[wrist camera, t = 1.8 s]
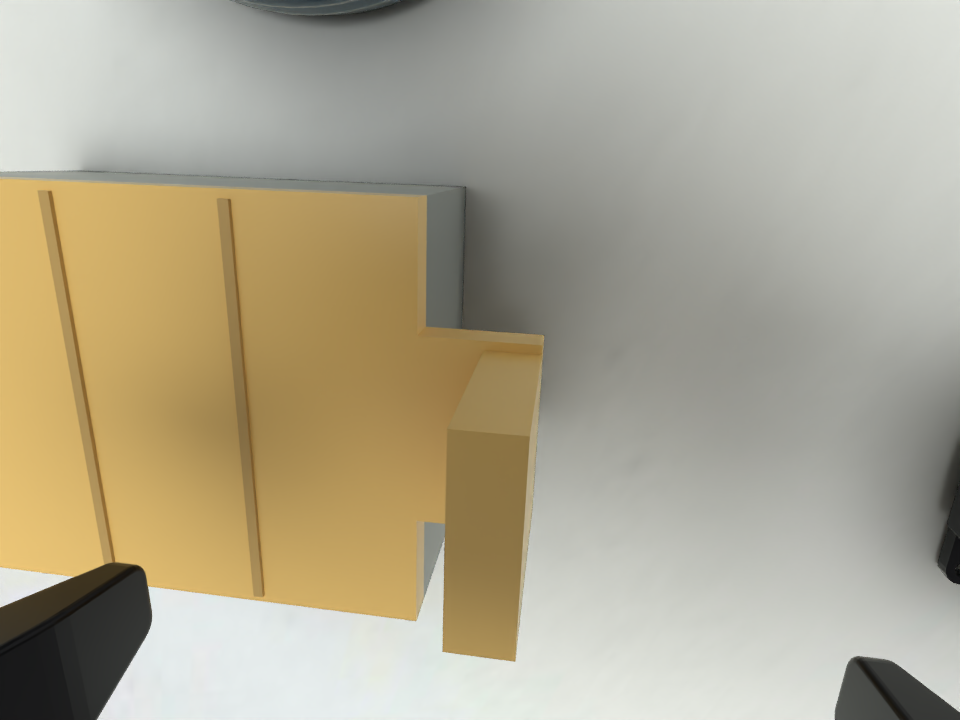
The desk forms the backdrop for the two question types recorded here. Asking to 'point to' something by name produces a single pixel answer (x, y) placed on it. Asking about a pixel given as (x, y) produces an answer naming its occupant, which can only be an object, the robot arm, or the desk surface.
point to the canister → (317, 6)
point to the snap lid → (258, 403)
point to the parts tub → (441, 200)
